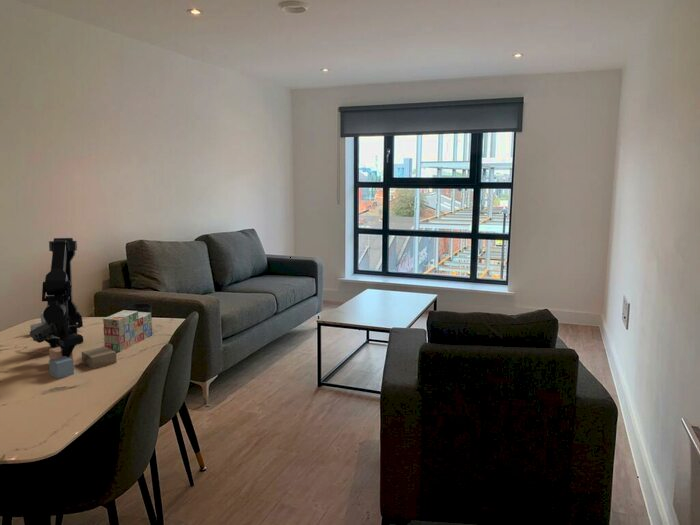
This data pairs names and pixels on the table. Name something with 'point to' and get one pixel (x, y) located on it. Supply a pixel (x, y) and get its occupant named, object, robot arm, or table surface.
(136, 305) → the pen holder
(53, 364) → the slate cube
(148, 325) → the stack of blocks
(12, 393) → the table surface
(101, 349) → the taupe faceted block
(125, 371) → the table surface
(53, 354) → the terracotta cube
